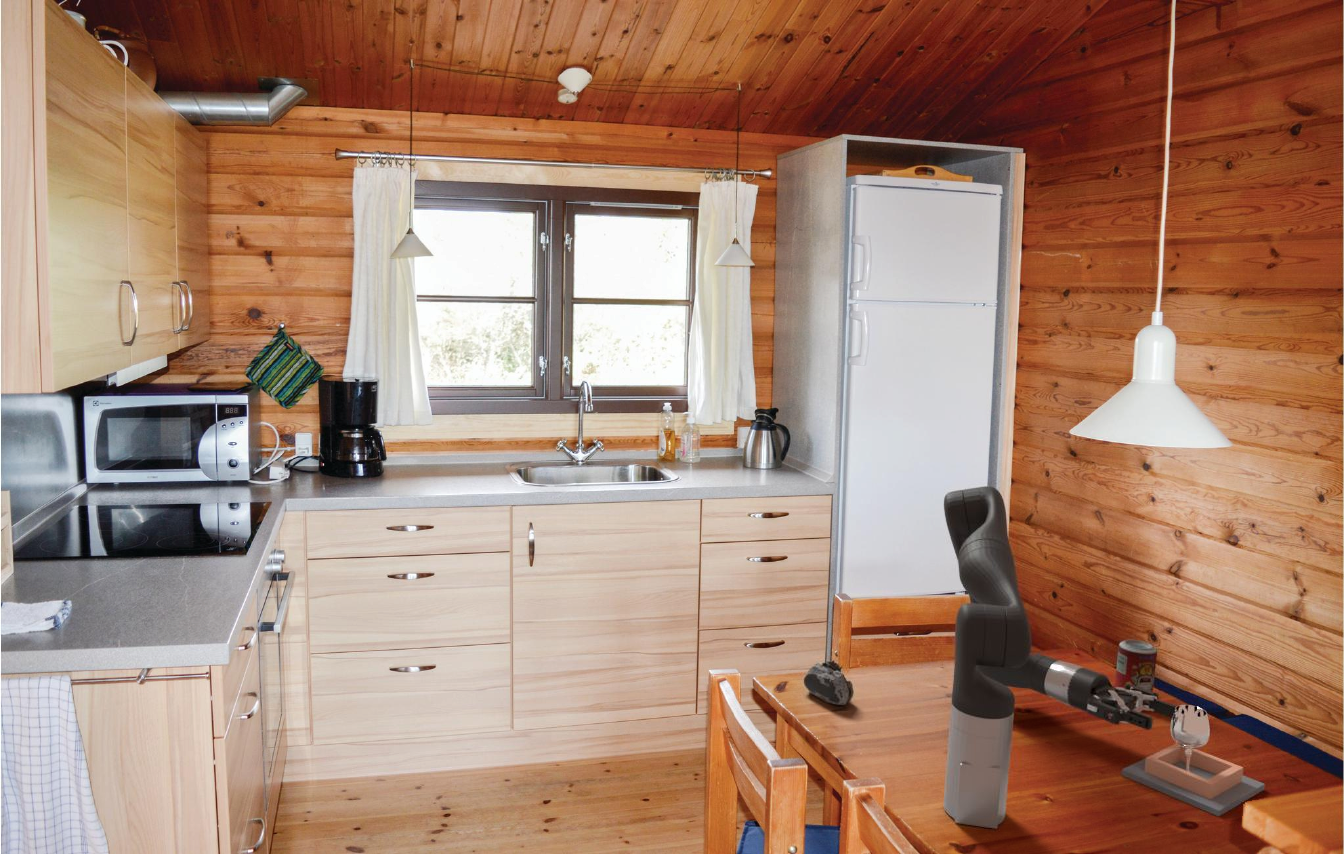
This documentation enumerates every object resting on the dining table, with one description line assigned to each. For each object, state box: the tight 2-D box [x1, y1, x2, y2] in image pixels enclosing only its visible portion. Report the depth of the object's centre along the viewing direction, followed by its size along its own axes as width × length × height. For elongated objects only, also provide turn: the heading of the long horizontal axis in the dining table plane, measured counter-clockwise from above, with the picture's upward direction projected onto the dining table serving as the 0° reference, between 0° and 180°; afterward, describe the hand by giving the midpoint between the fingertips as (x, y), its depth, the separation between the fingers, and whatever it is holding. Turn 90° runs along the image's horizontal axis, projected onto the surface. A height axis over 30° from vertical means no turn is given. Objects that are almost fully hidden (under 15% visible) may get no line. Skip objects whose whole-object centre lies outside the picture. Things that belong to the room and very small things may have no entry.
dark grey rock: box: [803, 660, 855, 706], centre depth 195 cm, size 12×7×10 cm
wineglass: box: [1169, 704, 1211, 775], centre depth 163 cm, size 6×6×12 cm
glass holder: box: [1121, 742, 1266, 817], centre depth 165 cm, size 16×16×4 cm
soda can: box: [1114, 638, 1158, 706], centre depth 198 cm, size 7×7×12 cm
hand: (1164, 718), depth 169 cm, fingers open, 8 cm apart
